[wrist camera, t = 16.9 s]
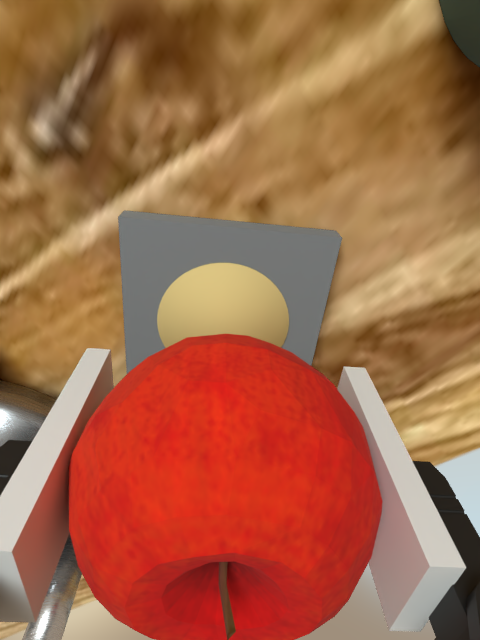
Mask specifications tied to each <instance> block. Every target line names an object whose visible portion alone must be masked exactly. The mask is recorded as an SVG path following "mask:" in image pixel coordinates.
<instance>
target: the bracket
mask: <svg viewBox="0 0 480 640" xmlns="http://www.w3.org/2000/svg"><path fill="white" fill-rule="evenodd" d="M439 2H440V6H441V10H442V13H443V17H444V21H445V23H446V25H447V27H448V30H449V32H450V34H451V36H452V38H453V40H454V42H455V43H456V44H457V46H458V47H459V48H460V49H461V51H462V52H463V53H464V55H465V56H466V57H467V58H468V59H469V60H471V61H472V62H473V63H474V64H476V65H477V66H478V67H480V0H439Z"/></svg>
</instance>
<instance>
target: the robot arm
mask: <svg viewBox="0 0 480 640" xmlns="http://www.w3.org/2000/svg"><path fill="white" fill-rule="evenodd" d="M113 389H114V388H113V375H112V362H111V350H108V349H94V348H87V349H86V351H85V353H84V354H83V356H82V358H81V360H80V361H79V363H78V365H77V366H76V368H75V370H74V371H73V373H72V375H71V377H70V378H69V380H68V382H67V383H66V385H65V387H64V388H63V390H62V392H61V394H60V395H59V397H58V399H57V400H56V402H55V404H54V405H53V407H52V409H51V411H50V412H49V414H48V416H47V417H46V419H45V421H44V422H43V424H42V426H41V428H40V429H39V431H38V433H37V434H36V436H35V438H34V439H33V441H22V440H8V441H7V442H6V443H4V444H3V445H2V446H1V447H0V622H36V620H37V618H38V615H39V612H40V610H41V607H42V605H43V602H44V599H45V597H46V594H47V591H48V589H49V586H50V583H51V581H52V578H53V575H54V573H55V570H56V567H57V565H58V562H59V559H60V557H61V554H62V551H63V549H64V546H65V543H66V541H67V538H68V535H69V533H70V532H69V464H70V460H71V456H72V453H73V451H74V449H75V447H76V445H77V443H78V441H79V439H80V437H81V435H82V432H83V430H84V428H85V426H86V424H87V422H88V420H89V419H90V418H91V416H92V415H93V413H94V412H95V411H96V409H97V408H98V406H99V405H100V404H101V402H102V401H103V400H104V398H105V397H106V396H107V395H108V394H109V393H110V392H111V391H112V390H113ZM337 390H338V391H339V392H340V394H341V395H342V396H343V398H344V399H345V400H346V402H347V403H348V404H349V406H350V407H351V408H352V410H353V411H354V412H355V414H356V416H357V417H358V419H359V421H360V423H361V424H362V426H363V428H364V432H365V435H366V438H367V442H368V445H369V449H370V453H371V457H372V461H373V465H374V469H375V473H376V477H377V481H378V485H379V489H380V493H381V497H382V501H383V502H382V514H381V519H380V523H379V527H378V531H377V536H376V540H375V544H374V548H373V553H372V557H371V559H370V560H369V566H370V569H371V572H372V575H373V579H374V582H375V586H376V589H377V592H378V596H379V599H380V602H381V606H382V609H383V612H384V616H385V619H386V622H387V626H388V629H389V631H421V630H422V628H423V627H424V626H425V624H426V623H427V621H428V620H430V622H431V625H432V628H433V630H434V633H435V636H436V638H435V640H480V537H479V535H478V534H477V532H476V530H475V528H474V527H473V525H472V523H471V522H470V520H469V518H468V516H467V514H464V509H463V508H462V506H461V504H460V502H459V501H458V499H456V497H455V496H456V495H455V494H454V492H453V490H452V488H451V487H450V485H449V483H448V481H447V480H446V478H445V477H444V476H443V475H442V474H441V473H440V472H439V471H438V470H437V469H436V468H435V467H434V466H433V465H432V464H431V463H430V462H420V461H412V460H411V458H410V456H409V454H408V452H407V450H406V448H405V446H404V444H403V442H402V440H401V438H400V436H399V434H398V432H397V430H396V428H395V426H394V424H393V422H392V420H391V418H390V416H389V414H388V412H387V410H386V408H385V406H384V404H383V402H382V400H381V398H380V396H379V394H378V392H377V391H376V389H375V387H374V385H373V383H372V381H371V379H370V377H369V375H368V373H367V371H366V369H365V368H357V367H344V368H343V371H342V375H341V378H340V382H339V385H338V388H337Z"/></svg>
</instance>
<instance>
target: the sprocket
mask: <svg viewBox="0 0 480 640" xmlns="http://www.w3.org/2000/svg"><path fill="white" fill-rule="evenodd" d="M55 402H56V399H54V398H52V397H50V396H48V395H45V394H43V393H40V392H38V391H35V390H33V389H30V388H27V387H24V386H20V385H17V384H13V383H10V382H5V381H0V447H1V446H2V445H3V444H4V443H6V442H7V441H8V440H22V441H33V439H34V438H35V436H36V434H37V433H38V431H39V429H40V428H41V426H42V424H43V422H44V421H45V419H46V417H47V416H48V414H49V412H50V411H51V409H52V407H53V405H54V404H55ZM81 575H82V572H81V571H80V569H79V567H78V564H77V560H76V556H75V552H74V548H73V544H72V540H71V536H70V533H69V535H68V538H67V541H66V543H65V546H64V549H63V551H62V554H61V557H60V559H59V562H58V565H57V567H56V570H55V573H54V575H53V578H52V581H51V583H50V586H49V589H48V591H47V594H46V597H45V599H44V602H43V605H42V607H41V610H40V612H39V615H38V618H37V620H36V622H29V623H28V626H27V628H26V631H25V634H24V636H23V639H22V640H61V639H62V636H63V633H64V629H65V627H66V623H67V620H68V617H69V614H70V610H71V607H72V604H73V601H74V598H75V594H76V591H77V588H78V585H79V581H80V578H81Z"/></svg>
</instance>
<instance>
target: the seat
mask: <svg viewBox="0 0 480 640" xmlns="http://www.w3.org/2000/svg"><path fill="white" fill-rule="evenodd" d="M118 220H119V238H120V257H121V275H122V293H123V311H124V330H125V348H126V366H127V374H128V373H129V372H130V371H131V370H132V369H134V368H135V367H136V366H137V365H139V364H140V363H141V362H142V361H144V360H145V359H146V358H147V357H149V356H151V355H153V354H155V353H157V352H159V351H161V350H163V349H165V348H167V347H169V346H171V345H173V344H175V343H177V342H179V341H181V340H183V339H185V338H187V337H197V336H207V335H217V334H236V335H246V336H251V337H254V338H257V339H260V340H263V341H266V342H269V343H272V344H274V345H276V346H278V347H281V348H283V349H285V350H287V351H290V352H292V353H293V354H295V355H296V356H298V357H299V358H300V359H302V360H303V361H305V362H306V363H308V364H309V365H310V366H311V365H312V361H313V356H314V352H315V348H316V344H317V340H318V336H319V331H320V327H321V323H322V319H323V315H324V311H325V307H326V302H327V298H328V294H329V290H330V286H331V282H332V278H333V273H334V269H335V265H336V261H337V257H338V253H339V248H340V244H341V240H342V237H341V236H340V235H339V234H338V232H337V231H333V230H323V229H313V228H302V227H292V226H281V225H271V224H260V223H250V222H239V221H229V220H218V219H208V218H197V217H187V216H176V215H166V214H155V213H145V212H134V211H123V212H122V214H121V215H120V216H119V217H118Z"/></svg>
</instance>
